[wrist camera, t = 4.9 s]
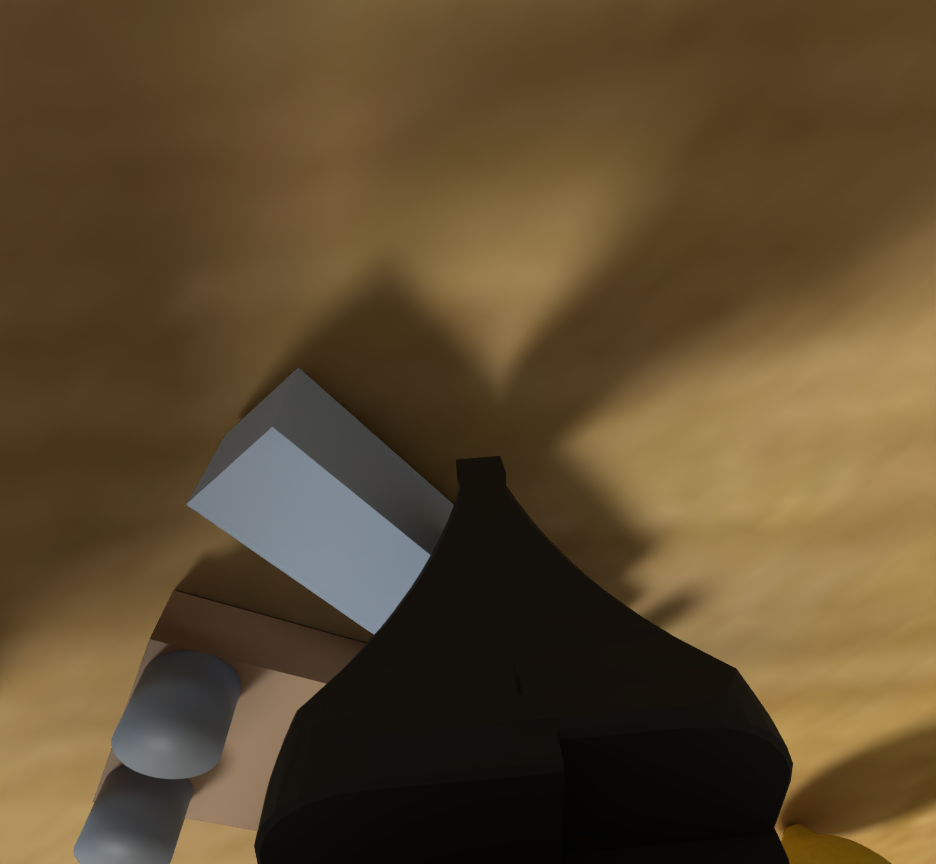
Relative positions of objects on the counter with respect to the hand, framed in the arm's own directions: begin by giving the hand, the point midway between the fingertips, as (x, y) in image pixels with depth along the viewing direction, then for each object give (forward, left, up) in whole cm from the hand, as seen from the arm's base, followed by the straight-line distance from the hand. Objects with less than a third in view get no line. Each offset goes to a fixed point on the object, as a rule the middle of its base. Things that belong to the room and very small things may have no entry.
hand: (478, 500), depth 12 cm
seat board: (+1, -10, -2) cm, 10 cm away
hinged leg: (0, -2, -1) cm, 3 cm away
